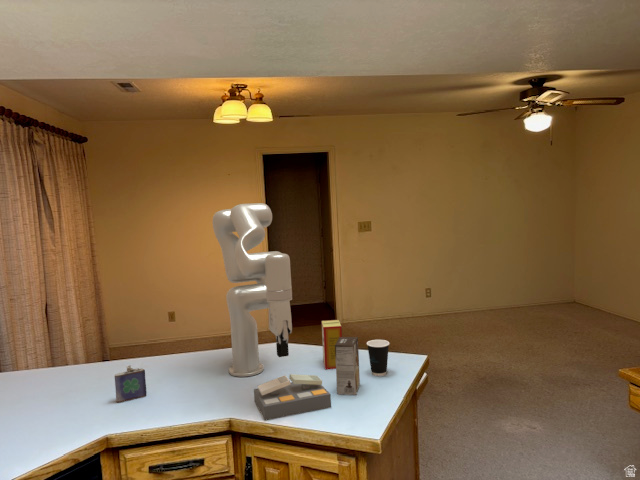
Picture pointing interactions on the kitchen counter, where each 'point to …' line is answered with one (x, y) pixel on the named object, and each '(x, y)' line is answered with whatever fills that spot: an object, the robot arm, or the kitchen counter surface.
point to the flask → (130, 384)
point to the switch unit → (292, 400)
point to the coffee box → (347, 365)
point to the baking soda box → (330, 342)
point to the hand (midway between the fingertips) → (282, 355)
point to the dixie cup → (378, 356)
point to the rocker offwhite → (273, 385)
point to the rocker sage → (305, 379)
